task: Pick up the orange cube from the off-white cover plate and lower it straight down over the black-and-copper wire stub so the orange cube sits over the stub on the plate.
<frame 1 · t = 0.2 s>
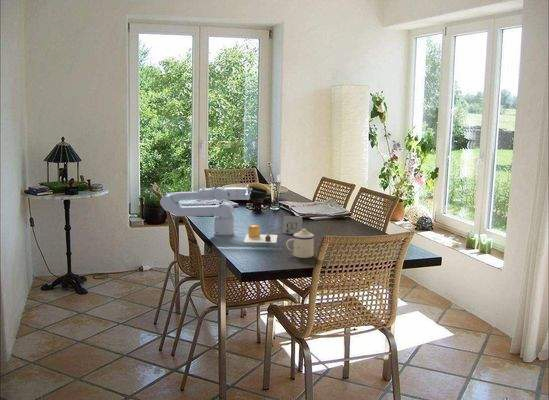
hand: (266, 193, 288), 21 cm above the table, tool horizontal, fingers open, 7 cm apart
teacup with lid: (300, 256, 256), on the table
cover plate: (261, 240, 283), on the table
electrical switch: (292, 234, 296), on the table
orange cube: (254, 236, 287), point 1 cm above the table, touching cover plate
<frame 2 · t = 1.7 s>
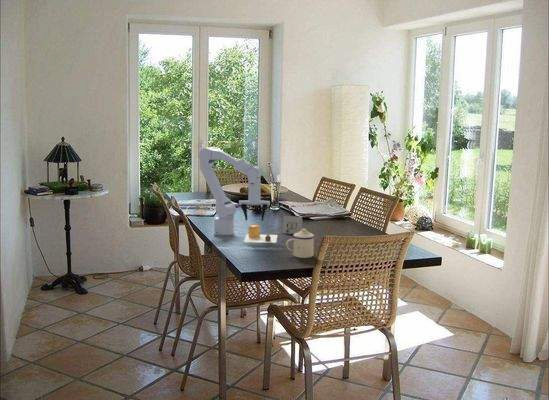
hand: (254, 220, 285), 9 cm above the table, tool pointing down, fingers open, 7 cm apart
nothing on the table moved.
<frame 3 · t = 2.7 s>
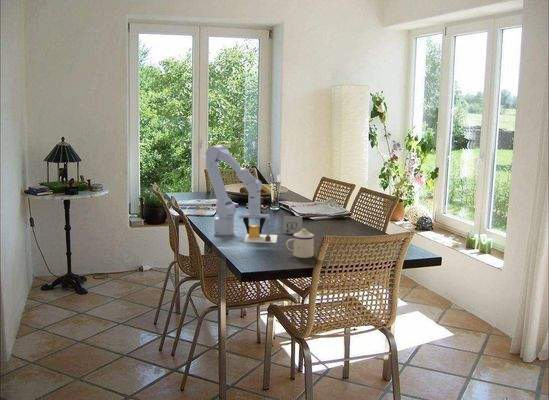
hand: (254, 233, 286), 2 cm above the table, tool pointing down, fingers closed on orange cube, 5 cm apart
orange cube: (254, 236, 287), point 1 cm above the table, touching cover plate, gripper
everything else where it was.
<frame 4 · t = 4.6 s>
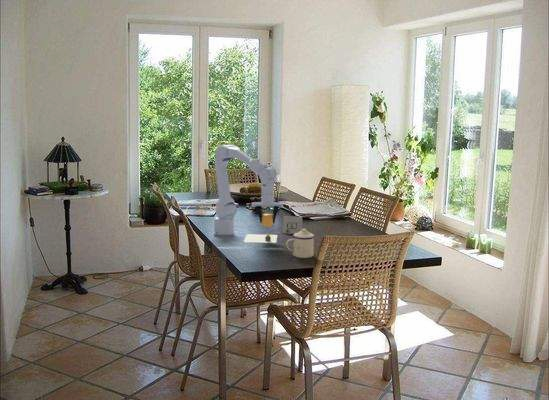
hand: (267, 222, 277), 9 cm above the table, tool pointing down, fingers closed on orange cube, 5 cm apart
orange cube: (267, 225, 278), point 8 cm above the table, touching gripper
everything else where it was.
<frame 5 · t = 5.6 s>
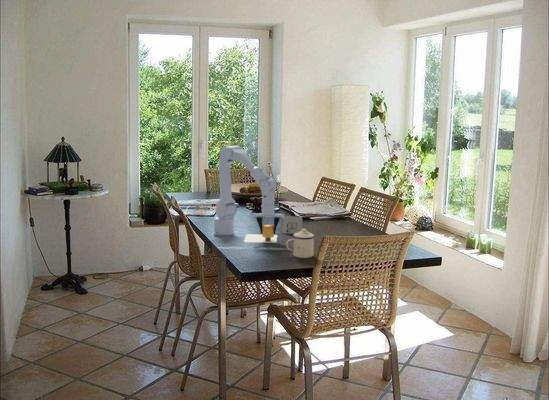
hand: (268, 233, 278), 4 cm above the table, tool pointing down, fingers closed on orange cube, 5 cm apart
orange cube: (268, 236, 278), point 3 cm above the table, touching gripper
everything else where it was.
when the fingers open (3 cm above the table, at t = 6.4 s): orange cube stays where it is, resting on cover plate.
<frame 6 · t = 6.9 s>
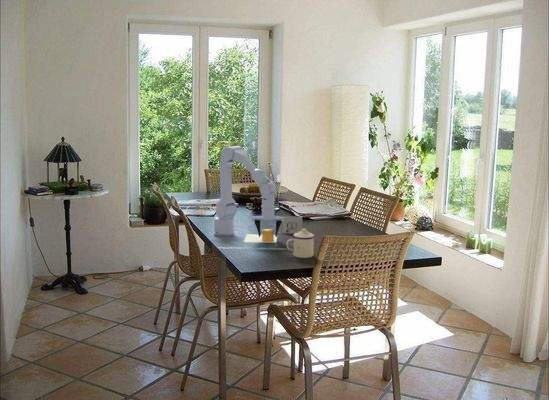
hand: (268, 236, 278), 3 cm above the table, tool pointing down, fingers open, 7 cm apart
orange cube: (267, 240, 279), point 1 cm above the table, touching cover plate
everything else where it was.
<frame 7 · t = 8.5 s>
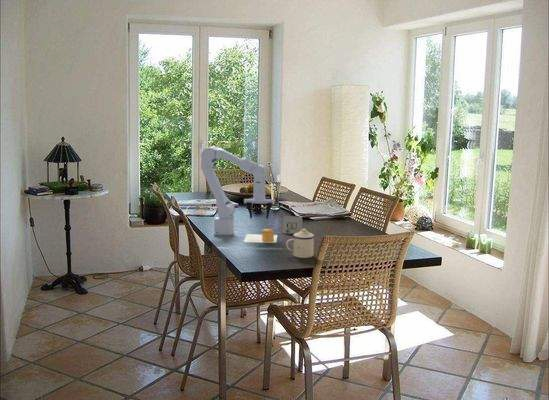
hand: (259, 218, 287), 9 cm above the table, tool pointing down, fingers open, 7 cm apart
nothing on the table moved.
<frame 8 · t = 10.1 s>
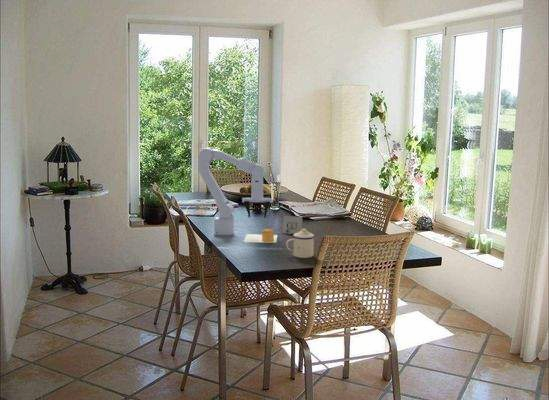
hand: (257, 217, 290), 9 cm above the table, tool pointing down, fingers open, 7 cm apart
nothing on the table moved.
at the end: orange cube 0.0 cm from the target spot on the cover plate, point 1.0 cm above the cover plate's base; orange cube tilted 0°; the gripper is holding nothing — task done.
